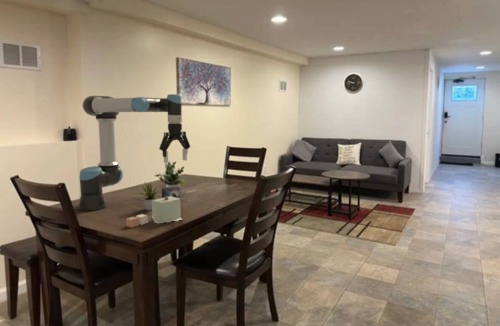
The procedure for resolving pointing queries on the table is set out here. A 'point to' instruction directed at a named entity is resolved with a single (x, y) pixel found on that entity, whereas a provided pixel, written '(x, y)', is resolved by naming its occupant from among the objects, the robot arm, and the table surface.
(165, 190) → the small box
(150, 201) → the house plant
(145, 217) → the cube
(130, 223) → the cube
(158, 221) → the mat
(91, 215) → the table surface
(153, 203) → the cover
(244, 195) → the table surface
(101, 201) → the robot arm
